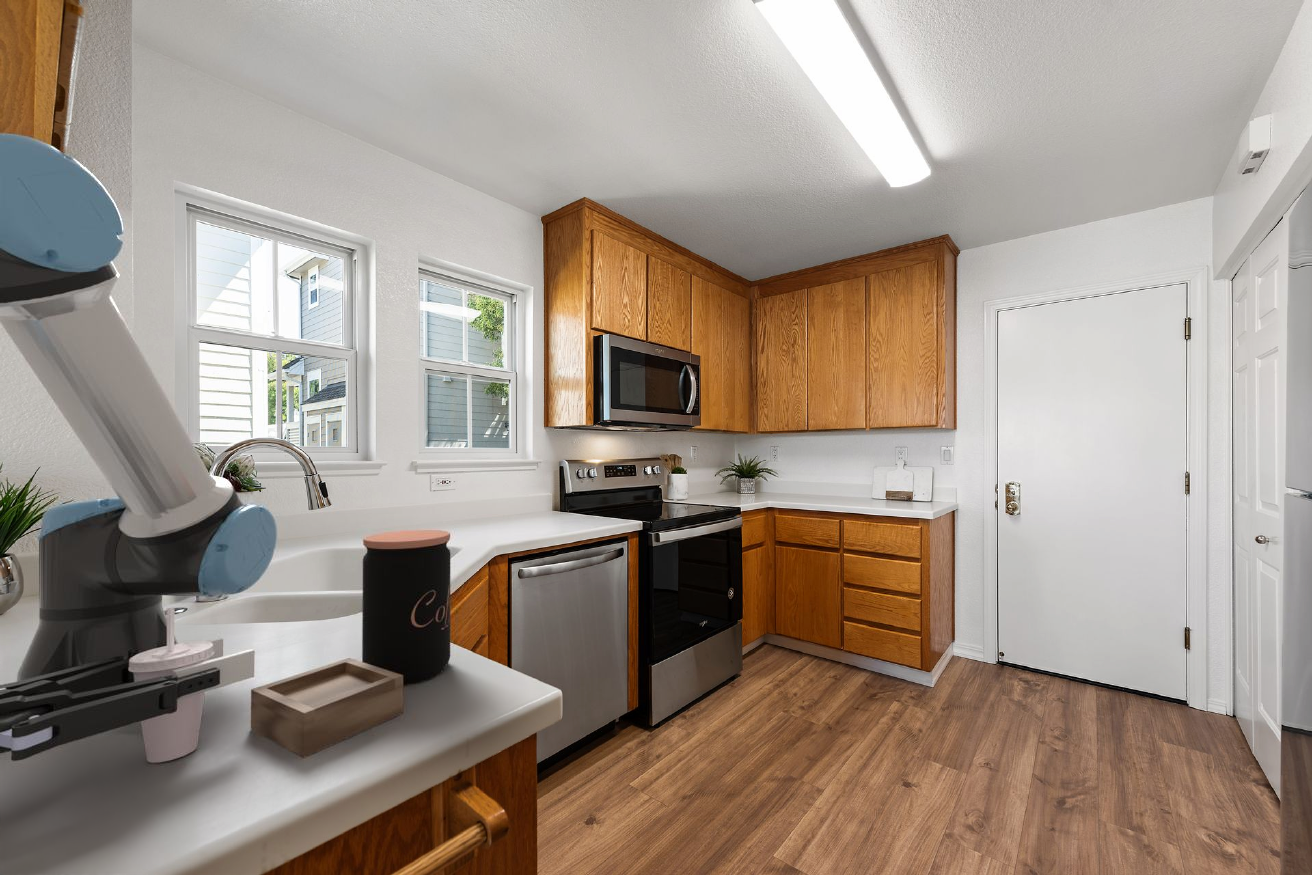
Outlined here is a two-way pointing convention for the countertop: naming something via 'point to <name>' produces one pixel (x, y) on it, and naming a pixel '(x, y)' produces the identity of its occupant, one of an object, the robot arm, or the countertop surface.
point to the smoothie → (182, 727)
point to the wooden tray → (325, 705)
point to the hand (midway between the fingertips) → (236, 656)
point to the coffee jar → (407, 603)
